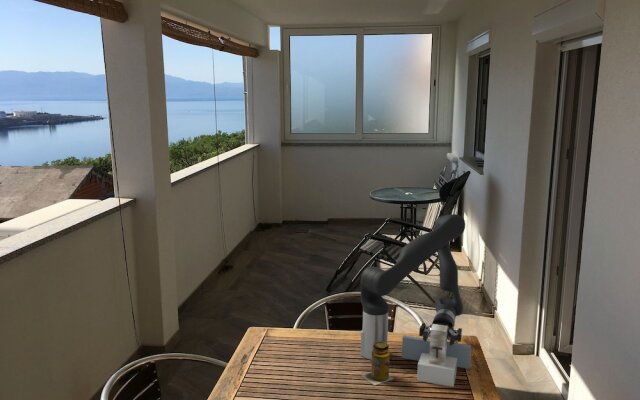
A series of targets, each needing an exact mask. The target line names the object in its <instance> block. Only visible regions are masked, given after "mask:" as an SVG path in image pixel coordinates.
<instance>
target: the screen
mask: <svg viewBox="0 0 640 400" xmlns="http://www.w3.org/2000/svg"><path fill="white" fill-rule="evenodd" d="M401 340H402V341H401V342H402V343H401V348H402V349H401V359H406V360H414V361H418V362H419V360H420V357H421V354H422V353H428V354H430V338H428V339H427V342H424V340H423V337H420V336H419V337H418V336H411V335H406V334H404V335H403V336H402V339H401ZM471 353H472V345H471V344H464V343H461V342H455V343H454V345H453V344H452V346H450V341H447V348H446V356H447V357H454V358H457V368H463V369H470V367H471Z"/></svg>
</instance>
